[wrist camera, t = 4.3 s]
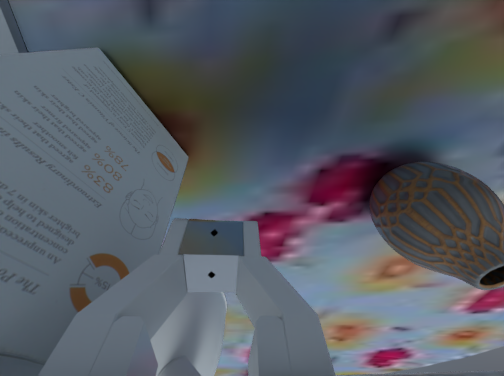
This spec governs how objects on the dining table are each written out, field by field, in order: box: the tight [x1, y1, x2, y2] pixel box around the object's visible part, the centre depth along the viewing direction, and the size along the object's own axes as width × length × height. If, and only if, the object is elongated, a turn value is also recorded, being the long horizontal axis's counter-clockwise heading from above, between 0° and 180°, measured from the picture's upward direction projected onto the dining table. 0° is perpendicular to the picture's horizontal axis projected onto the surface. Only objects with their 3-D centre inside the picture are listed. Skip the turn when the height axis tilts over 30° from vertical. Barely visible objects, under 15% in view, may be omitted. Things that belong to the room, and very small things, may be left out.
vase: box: [370, 162, 504, 290], centre depth 15 cm, size 7×7×9 cm
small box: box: [0, 47, 189, 376], centre depth 9 cm, size 8×6×13 cm
